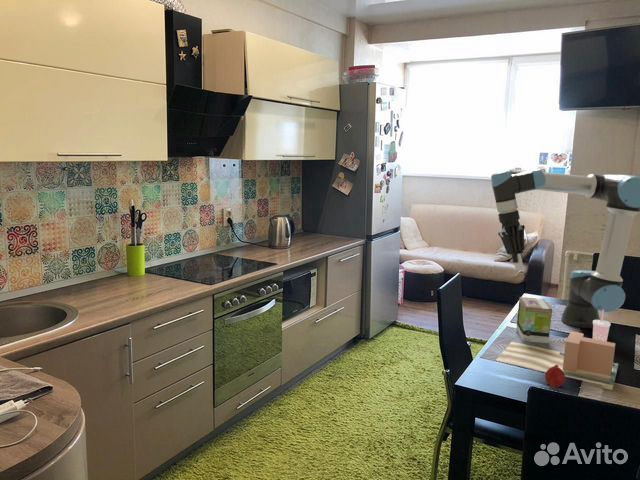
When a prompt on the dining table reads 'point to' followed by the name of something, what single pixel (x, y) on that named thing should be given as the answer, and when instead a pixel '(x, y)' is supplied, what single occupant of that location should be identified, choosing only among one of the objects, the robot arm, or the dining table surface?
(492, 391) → the dining table surface
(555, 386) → the red pomegranate
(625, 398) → the dining table surface
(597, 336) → the beverage cup
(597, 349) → the tee
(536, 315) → the tea box
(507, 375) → the dining table surface
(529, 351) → the board
